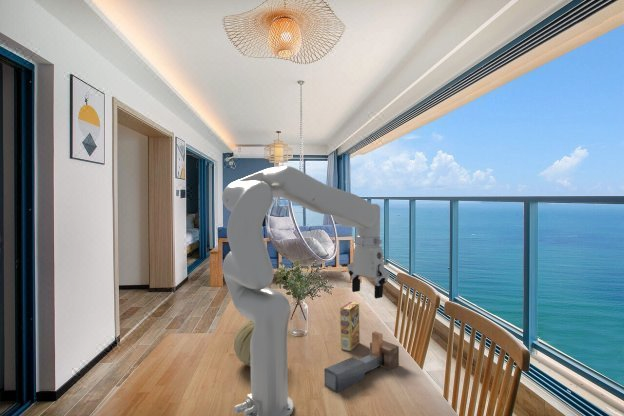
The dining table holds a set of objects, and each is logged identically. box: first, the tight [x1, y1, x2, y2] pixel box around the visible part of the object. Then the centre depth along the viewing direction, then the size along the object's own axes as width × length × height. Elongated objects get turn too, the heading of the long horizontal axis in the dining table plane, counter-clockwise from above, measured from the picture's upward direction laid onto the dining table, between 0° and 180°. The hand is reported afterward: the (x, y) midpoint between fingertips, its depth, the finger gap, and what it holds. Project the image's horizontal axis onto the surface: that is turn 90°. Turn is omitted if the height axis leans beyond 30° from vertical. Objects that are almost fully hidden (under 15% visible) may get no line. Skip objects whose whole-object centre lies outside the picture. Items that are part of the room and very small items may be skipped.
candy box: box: [339, 301, 361, 352], centre depth 134 cm, size 9×4×15 cm, turn 150°
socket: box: [369, 340, 400, 371], centre depth 120 cm, size 5×8×6 cm, turn 40°
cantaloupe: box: [233, 320, 254, 368], centre depth 120 cm, size 15×15×15 cm
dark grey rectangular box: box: [323, 356, 366, 393], centre depth 108 cm, size 12×5×5 cm, turn 130°
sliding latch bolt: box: [358, 331, 384, 373], centre depth 115 cm, size 16×3×10 cm, turn 130°
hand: (366, 294), depth 117 cm, fingers open, 9 cm apart
